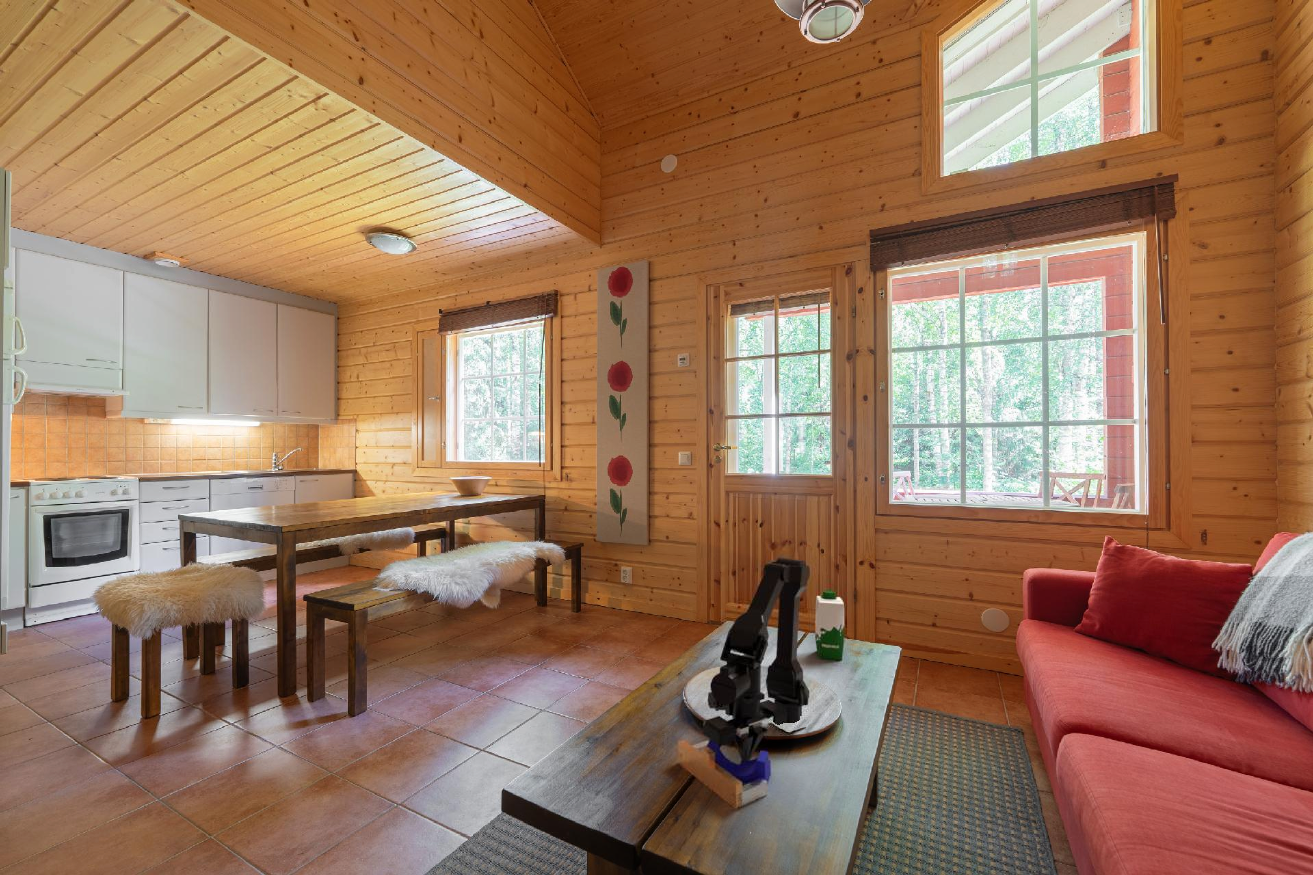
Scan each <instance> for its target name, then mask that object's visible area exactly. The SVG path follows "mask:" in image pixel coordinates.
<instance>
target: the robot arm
mask: <svg viewBox="0 0 1313 875" xmlns="http://www.w3.org/2000/svg"><path fill="white" fill-rule="evenodd" d="M810 575H811V569H810V566H809V565H808V564H807V563H806V561H805V560H804V559H803V560H802V559H797V558H796V559H794V558H789V557H788V558H787V557H781V556H780V557H778V558H776V560H771V561H768V562H767V563H765V565H764V567H763V575H762V577H761V580H760V581H759V584H758V585H757V588H756V590H755V593H754V595H753V597H752V599H751V600H750V601H751V602H750V604H749V606H748V608H747V610H746V611H745V612H744V613H743V614H741V615H739V616H737V618H736V619H735V621H734V623H733V624H732V626H731V628H729V629H728V632H727V635H726V638H725V641H724V645H723V647H722V648H723V649H722V651H721V653H720V654H721V655H720V657H719V658H720V661H723V662H726V663H725V665H721V666H720V667H719V673H717V674H716V675H714V676H713V677H712V679H711V682H710V684H709V687H710V691H709V692H707V693H708V694H707V705H708V707H709V708H710V709H714V711H715V712H719V711H725V715H727V716H728V717H730V716H732V718H731V719H727V720H726V719H725V718H723V717H722V716H720V715H717V716H714V717H712V718H709V719H706V720H705V721H703V722H702V723H703V724H702V734H703V735H704V736H706V737H707V738H708V739H709V740H710V739H712V740H713V741H714V742H716V743H717V744H718V745H719V746H720V745H721V746H725V745H728V744H730V743H733V742H734V741H735V744H736V747H737V750H738V754H739V756H740V761H741V760H744V761H750V760H752V756H753V755H754V753H755V751H756V749H757V748H758V746H759V744H760V742H761V741H762V739H763V737H764V736H765V735H766V734H767V733H768V729H767V728H766V727H764V725H763V722H764V721H766V720H767V721H768V720H771V718H772V719H773V722H774V723H775V724H777V725H780V724H783V723H795V722H797V721H799V720H800V716H802V717H803V713H802V711H803V706H808V705H809V699H810V690H809V688H808V686H807V684H806V682H805V681H804V671H803V668H802V666H801V664H800V662H799V660H798V656H797V655H798V635H799V617H800V616H799V615H800V613H799V612H800V599H801V598H800V597H801V595H802V594H803V592H805V590H806V588H807V586H808V581H809V579H810ZM777 602H778V611H777V612H778V613H777V615H778V616H777V632H776V633H777V635H776V654H775V658H774V660H773V661H772V662H771V664H769V665H768V667H767V674H766V677H765V685H766V687H765V688H766V692H767V693H766V694H767V698H769V699H767V700H765V698H766V697H765V696H766V695H765V693H763V692H762V691H761V683H762V682H761V680H762V678H761V677H762V673H761V672H762V671H761V670H762V663H763V661H764V659H765V655H766V652H767V648H768V646H769V636H770V635H769V632H768V631H769V630H768V624H769V620H770V619H771V617H772V614H773V611H774V609H775V606H776V604H777ZM731 651H732V652H731ZM737 653H738V654H737ZM741 654H742V655H741ZM771 699H773V701H772V700H771ZM762 700H764V701H762Z"/></svg>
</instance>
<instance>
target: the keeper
mask: <svg viewBox="0 0 1313 875" xmlns="http://www.w3.org/2000/svg"><path fill="white" fill-rule="evenodd" d="M708 742H709V740H704V741H702V742H699V743H697V744H690V743H689V742H688V741H687V740H684V739H682V740H679V741H677V763H678V764H679V766H681V767H682V768H683V769H685V770H686V771H687V772H688V773H689V774H691V776H693V777H695V778H696V779H697V780H699V782H701V783H702V782H703V783H702V784H703V785H705V786H706V787H707V786H708V787H707V788H708V789H710V790H711V791H712V790H713V791H712V792H714V793H715V794H716V795H717V794H718V796H719V797H720V798H721V799H722V800H724V801H725V802H726V801H727V802H726V803H728V804H729V806H731V805H732V806H731V807H732V808H733V809H735V810H737V809H739V808H741V807H743V805H744V806H745V805H748V804H750V803H752V802H754V801H756V799H757V800H759V799H761V798H763V797H765V796H767V795H768V784H767V781H766V780H764V779H763V778H760V779H758V780H755V781H753V782H751V783H748V784H742V782H741V781H740V780H738V779H737V778H736V777H734V776H733V775H731V774H730V773H729V772H727V771H726V770H725V769H723V768H722V767H720V766H719V765H718V764H716V763H715V752H714V751H713V750H711V749H710V748H708V747H706V746H707V744H708ZM747 803H748V804H747ZM738 807H739V808H738Z"/></svg>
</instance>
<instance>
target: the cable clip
mask: <svg viewBox="0 0 1313 875" xmlns="http://www.w3.org/2000/svg"><path fill="white" fill-rule="evenodd" d="M708 741H709V742H708V744H707V746H706V747H708V748H710V749H711V750H713V751H714V752H715V763H716V764H718V765H719V766H720V767H722V768H723V769H725V770H726V771H727V772H729V773H730V774H731V775H733V776H734V777H736V778H737V779H738V780H740V781H741V782H742V783H743V784H742V785H746V784H748V783H751V782H753V781H755V780H758V779H760V778H763V779H764V780H766V781H767V785H768V784H769V782H770V779H771V775H772V773H771V772H772V771H771V768H772V767H771V760H769V751H766V750H761V749H760V752H759V754H758V757H756V758H754V759H750V760H749V761H744V760H741V759H740V762H739V764H737V763H735V762H733V761H732V760H730V759H729V758H728V757H726V756H725V754H724V753H723V752H722V750H721V748H720V745H719V744H717V743H716V742H714V741H713V740H712V739H710V738H709V740H708Z"/></svg>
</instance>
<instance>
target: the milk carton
mask: <svg viewBox="0 0 1313 875" xmlns="http://www.w3.org/2000/svg"><path fill="white" fill-rule="evenodd" d="M814 617H815V622H814V624H815V625H814V632H815V633H814V638H815V648H816V652H817V656H818V659H820V660H832V661H834V660H835V661H843V657H844V656H843V654H844V647H845V646H844V645H845V604H844V601H843V599H842V598H841V597H839V596H836V591H835V590H832V589H831V590H829V589H828V590H827V589H824V590H822V595H816V600H815V616H814Z"/></svg>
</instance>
